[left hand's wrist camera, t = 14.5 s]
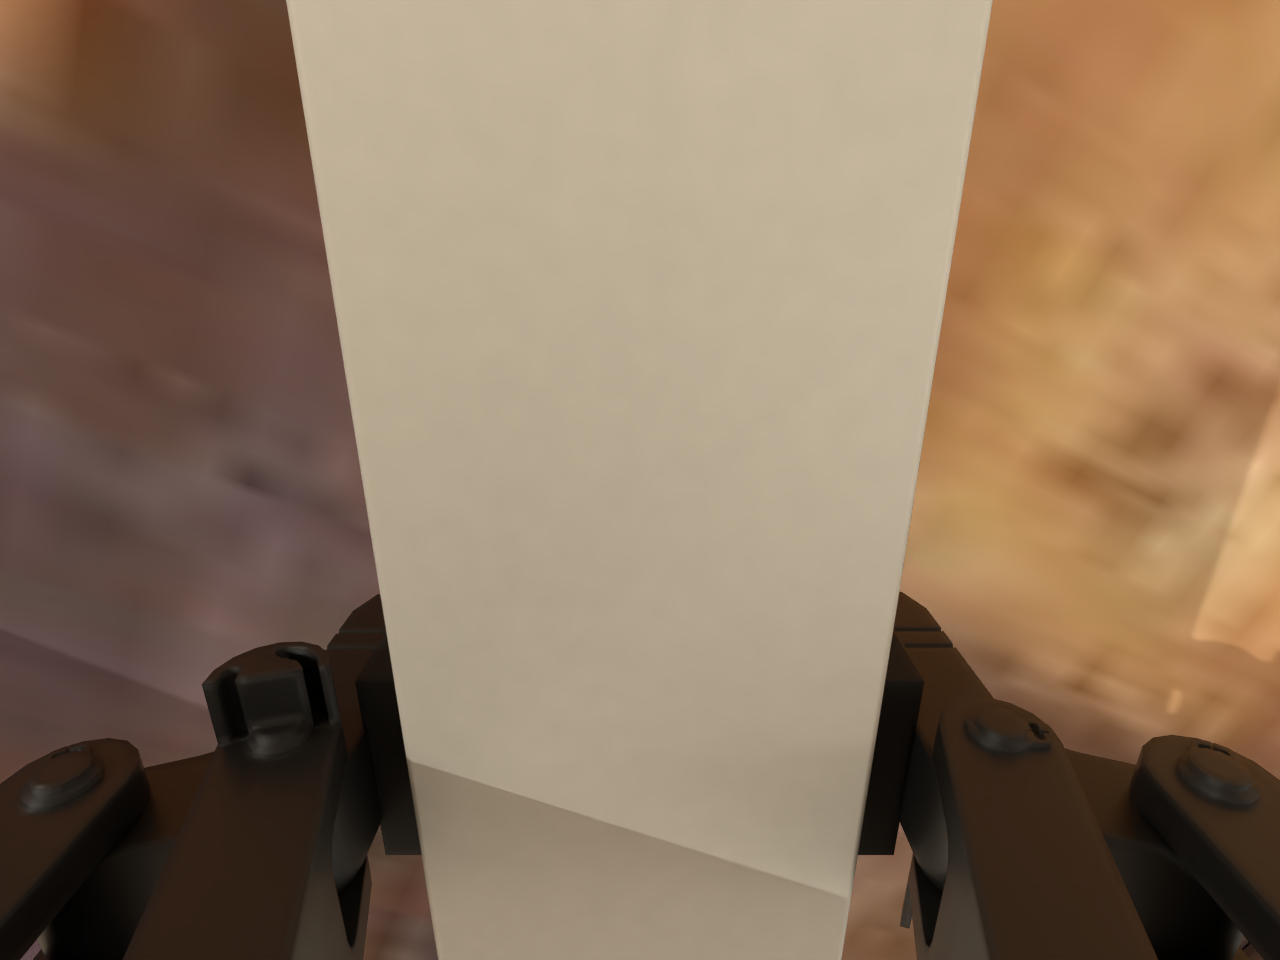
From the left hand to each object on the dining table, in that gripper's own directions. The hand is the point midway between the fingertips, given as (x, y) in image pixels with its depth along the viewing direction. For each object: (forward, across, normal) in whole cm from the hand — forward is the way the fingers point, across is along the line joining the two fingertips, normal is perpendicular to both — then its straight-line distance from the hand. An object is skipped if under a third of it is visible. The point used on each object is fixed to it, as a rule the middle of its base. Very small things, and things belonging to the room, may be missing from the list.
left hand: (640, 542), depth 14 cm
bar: (+1, 0, -10) cm, 10 cm away
